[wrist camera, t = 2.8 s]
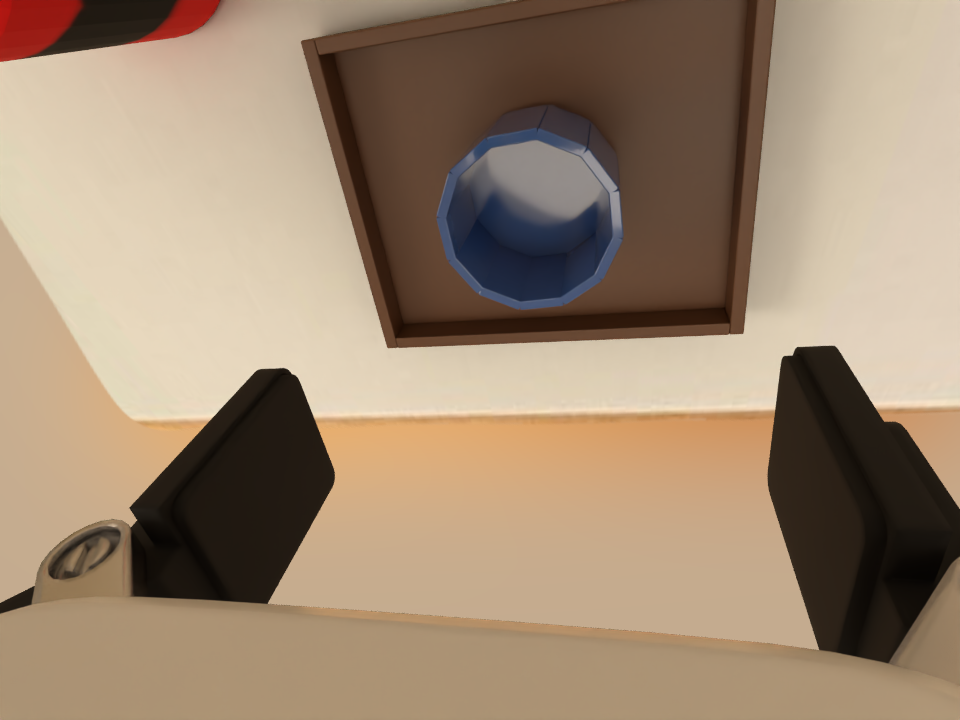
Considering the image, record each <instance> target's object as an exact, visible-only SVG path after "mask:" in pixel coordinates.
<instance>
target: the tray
mask: <svg viewBox="0 0 960 720" xmlns="http://www.w3.org/2000/svg"><path fill="white" fill-rule="evenodd" d="M775 6H776V0H518V1H513V2H507V3H502V4H496V5H491V6H486V7H480V8H475V9H469V10H464V11H458V12H453V13H447V14H442V15H437V16H431V17H426V18H420V19H415V20H409V21H404V22H398V23H393V24H387V25H382V26H377V27H371V28H366V29H360V30H355V31H349V32H344V33H338V34H333V35H328V36H322V37H317V38H312V39H308V40H303V41H301V44H302V48H303V51H304V55H305V58H306V62H307V65H308V69H309V72H310V76H311V79H312V83H313V86H314V90H315V94H316V97H317V101H318V104H319V108H320V111H321V115H322V118H323V122H324V125H325V129H326V132H327V136H328V139H329V143H330V147H331V150H332V154H333V157H334V161H335V164H336V168H337V171H338V175H339V178H340V182H341V185H342V189H343V192H344V196H345V199H346V203H347V207H348V210H349V214H350V217H351V221H352V224H353V228H354V231H355V235H356V238H357V242H358V245H359V249H360V252H361V256H362V260H363V263H364V267H365V270H366V274H367V277H368V281H369V284H370V288H371V291H372V295H373V298H374V302H375V305H376V309H377V312H378V316H379V320H380V323H381V327H382V330H383V334H384V337H385V341H386V344H387V347H388V348H397V347H398V348H407V347H432V346H457V345H481V344H506V343H531V342H556V341H581V340H605V339H630V338H655V337H680V336H705V335H728V334H729V333H730V334H743V332H744V323H745V313H746V303H747V292H748V282H749V272H750V262H751V251H752V241H753V231H754V221H755V210H756V200H757V190H758V180H759V169H760V159H761V149H762V139H763V128H764V118H765V108H766V98H767V87H768V77H769V67H770V57H771V46H772V36H773V26H774V16H775ZM545 104H548V107H549V105H553V106H556V107H558V108H561V109H564V110H566V111H569V112H571V113H574V114H576V115H579V116H582V117H584V118H587V119H589V120H590V122H593V123H594V125H595V126H596V127H597V129H598V130H599V131H600V133H601V134H602V135H603V137H604V138H605V140H606V141H607V142H608V144H609V145H610V146H611V148H612V149H613V150H614V152H615V153H616V154H617V158H618V163H619V175H620V187H621V200H622V216H623V231H624V237H623V241H622V243H621V245H620V247H619V249H618V251H617V253H616V255H615V257H614V259H613V261H612V263H611V265H610V267H609V269H608V271H607V273H606V275H605V277H604V279H602V281H601V282H599V283H598V284H596V285H595V286H593V287H592V288H590V289H589V290H587V291H586V292H584V293H583V294H581V295H580V296H578V297H577V298H575V299H574V300H572V301H571V302H569V303H568V304H566V305H565V304H564V305H563V306H555V307H545V308H536V309H526V310H521V309H520V308H519V310H518V309H515V308H513V307H510V306H507V305H505V304H502V303H499V302H497V301H494V300H491V299H489V298H486V297H484V296H481V295H479V293H476V292H475V291H474V290H473V289H472V288H471V286H470V285H469V284H468V283H467V282H466V281H465V280H464V279H463V278H462V277H461V276H460V274H459V273H458V272H457V271H456V270H455V269H454V268H453V267H452V266H451V265H450V264H449V262H448V261H449V260H447V258H446V254H445V251H444V247H443V243H442V239H441V235H440V231H439V227H438V223H437V219H436V218H437V216H436V214H437V211H438V207H439V204H440V200H441V197H442V193H443V190H444V186H445V183H446V179H447V176H448V173H449V171H450V169H451V168H452V167H453V166H454V164H455V163H456V162H457V161H458V160H459V158H460V157H461V156H462V155H463V153H464V152H465V151H466V150H467V149H468V147H469V146H470V145H471V144H472V142H473V141H474V140H475V139H476V138H477V137H478V136H480V135H481V134H482V133H483V132H484V131H485V130H486V129H487V128H488V127H489V126H490V125H491V124H493V123H494V122H495V121H496V120H497V119H498V118H499V117H500V116H501V115H502V114H505V113H506V112H509V111H515V110H520V109H525V108H530V107H535V106H540V105H545Z"/></svg>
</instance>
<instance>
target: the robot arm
mask: <svg viewBox="0 0 960 720" xmlns="http://www.w3.org/2000/svg"><path fill="white" fill-rule="evenodd" d="M334 473H335V472H334V468H333V466H332V463H331V460H330V458H329V455H328V453H327V450H326V448H325V445H324V443H323V440H322V438H321V435H320V432H319V430H318V427H317V425H316V422H315V419H314V417H313V414H312V412H311V409H310V407H309V404H308V402H307V399H306V396H305V394H304V391H303V389H302V386H301V384H300V381H299V379H298V378H297V377H296V376H295V375H292V374H291V372H290V371H289V370H288V369H285V368H278V369H260V370H257V371H256V372H255V373H254V374H253V375H252V376H251V377H250V378H249V379H248V380H247V381H246V383H245V384H244V385H243V386H242V387H241V388H240V389H239V390H238V391H237V392H236V393H235V394H234V395H233V397H232V398H231V399H230V400H229V401H228V402H227V403H226V404H225V405H224V406H223V407H222V408H221V409H220V411H219V412H218V413H217V414H216V415H215V416H214V417H213V418H212V419H211V420H210V421H209V422H208V424H207V425H206V426H205V427H204V428H203V429H202V430H201V431H200V432H199V433H198V434H197V435H196V436H195V438H194V439H193V440H192V441H191V442H190V443H189V444H188V445H187V446H186V447H185V448H184V449H183V451H182V452H181V453H180V454H179V455H178V456H177V457H176V458H175V459H174V460H173V461H172V462H171V464H170V465H169V466H168V467H167V468H166V469H165V470H164V471H163V472H162V473H161V474H160V475H159V476H158V477H157V479H156V480H155V481H154V482H153V483H152V484H151V485H150V486H149V487H148V488H147V489H146V490H145V492H144V493H143V494H142V495H141V496H140V497H139V498H138V499H137V500H136V501H135V502H134V503H133V504H132V506H131V507H130V510H131V511H132V513H133V514H134V516H135V517H136V519H137V521H136V522H135V524H134V525H133V526H132V527H131V528H130V526H129V525H128V524H127V523H125V522H124V521H122V520H115V519H111V520H105V521H100V522H97V523H94V524H91V525H88V526H86V527H84V528H82V529H80V530H78V531H76V532H74V533H73V534H71V535H70V536H68V537H67V538H66V539H64V540H63V541H61V542H60V543H59V544H58V545H57V546H56V547H55V548H53V549H52V551H50V552H49V554H48V555H47V556H46V557H45V559H44V560H43V561H42V563H41V565H40V567H39V570H38V572H37V577H36V582H35V586H33V587H32V588H29V589H28V590H25V591H23V592H21V593H19V594H17V595H15V596H13V597H11V598H10V599H7V600H5V601H4V602H1V603H0V720H960V509H959V507H958V506H957V505H956V503H955V502H954V500H953V499H952V497H951V496H950V494H949V493H948V491H947V490H946V488H945V487H944V485H943V484H942V482H941V481H940V479H939V478H938V476H937V475H936V473H935V472H934V471H933V469H932V467H931V466H930V465H929V463H928V461H927V460H926V458H925V457H924V455H923V454H922V452H921V451H920V449H919V448H918V446H917V445H916V444H915V442H914V441H913V439H912V438H911V436H910V435H909V433H908V432H907V430H906V429H905V428H904V427H903V426H902V425H901V424H899V423H897V422H884V421H883V420H882V418H881V416H880V415H879V413H878V412H877V410H876V408H875V407H874V405H873V404H872V402H871V401H870V399H869V397H868V396H867V394H866V393H865V391H864V389H863V388H862V386H861V385H860V383H859V382H858V380H857V378H856V377H855V375H854V374H853V372H852V371H851V369H850V367H849V366H848V364H847V363H846V361H845V360H844V358H843V356H842V355H841V353H840V352H839V350H838V349H837V348H836V347H835V346H814V347H797V348H796V349H795V351H794V354H793V356H784V357H783V358H782V362H781V368H780V376H779V384H778V393H777V401H776V409H775V417H774V425H773V434H772V442H771V450H770V458H769V466H768V487H769V492H770V496H771V499H772V502H773V505H774V508H775V512H776V515H777V518H778V521H779V524H780V528H781V531H782V534H783V537H784V540H785V543H786V546H787V549H788V552H789V556H790V559H791V562H792V565H793V568H794V571H795V574H796V578H797V581H798V584H799V587H800V590H801V594H802V597H803V600H804V603H805V606H806V609H807V612H808V615H809V619H810V622H811V625H812V628H813V631H814V634H815V638H816V641H817V644H818V647H819V650H814V649H807V648H799V647H792V646H784V645H777V644H770V643H759V642H747V641H738V640H727V639H717V638H706V637H695V636H685V635H674V634H663V633H652V632H640V631H627V630H614V629H601V628H587V627H576V626H563V625H550V624H537V623H525V622H512V621H499V620H486V619H471V618H459V617H444V616H432V615H418V614H404V613H390V612H376V611H362V610H348V609H334V608H320V607H305V606H290V605H274V604H268V602H269V600H270V598H271V596H272V594H273V593H274V591H275V589H276V587H277V586H278V584H279V582H280V580H281V578H282V576H283V575H284V573H285V571H286V569H287V568H288V566H289V564H290V562H291V560H292V559H293V557H294V555H295V553H296V551H297V550H298V548H299V546H300V544H301V543H302V541H303V539H304V537H305V535H306V534H307V532H308V530H309V528H310V526H311V524H312V523H313V521H314V519H315V517H316V516H317V514H318V512H319V510H320V508H321V507H322V505H323V503H324V501H325V499H326V498H327V496H328V494H329V492H330V491H331V489H332V487H333V484H334V480H335V474H334Z"/></svg>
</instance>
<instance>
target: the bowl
mask: <svg viewBox="0 0 960 720" xmlns="http://www.w3.org/2000/svg"><path fill="white" fill-rule="evenodd" d="M436 216H437V218H436V219H437V223H438V227H439V231H440V235H441V239H442V243H443V247H444V251H445V254H446V258H447V260H449V261H448V262H449V264H450V265H451V266H452V267H453V268H454V269H455V270H456V271H457V272H458V273H459V274H460V276H461V277H462V278H463V279H464V280H465V281H466V282H467V283H468V284H469V285H470V286H471V288H472V289H473V290H474V291H475V292H476V293H479V295H481V296H484V297H486V298H489V299H491V300H494V301H497V302H499V303H502V304H505V305H507V306H510V307H513V308H515V309H518V310H519V308H520V309H521V310H526V309H536V308H545V307H555V306H563V305H564V304H565V305H566V304H568V303H569V302H571V301H572V300H574V299H575V298H577V297H578V296H580V295H581V294H583V293H584V292H586V291H587V290H589V289H590V288H592V287H593V286H595V285H596V284H598V283H599V282H601V281H602V279H604V277H605V275H606V273H607V271H608V269H609V267H610V265H611V263H612V261H613V259H614V257H615V255H616V253H617V251H618V249H619V247H620V245H621V243H622V241H623V237H624V231H623V216H622V200H621V187H620V175H619V163H618V158H617V154H616V153H615V152H614V150H613V149H612V148H611V146H610V145H609V144H608V142H607V141H606V140H605V138H604V137H603V135H602V134H601V133H600V131H599V130H598V129H597V127H596V126H595V125H594V123H593V122H590V120H589V119H587V118H584V117H582V116H579V115H576V114H574V113H571V112H569V111H566V110H564V109H561V108H558V107H556V106H553V105H549V107H548V104H545V105H540V106H535V107H530V108H525V109H520V110H515V111H509V112H506V113H505V114H502V115H501V116H500V117H499V118H498V119H497V120H496V121H495V122H494V123H493V124H491V125H490V126H489V127H488V128H487V129H486V130H485V131H484V132H483V133H482V134H481V135H480V136H478V137H477V138H476V139H475V140H474V141H473V142H472V144H471V145H470V146H469V147H468V149H467V150H466V151H465V152H464V153H463V155H462V156H461V157H460V158H459V160H458V161H457V162H456V163H455V164H454V166H453V167H452V168H451V169H450V171H449V173H448V176H447V179H446V183H445V186H444V190H443V193H442V197H441V200H440V204H439V207H438V211H437V214H436Z"/></svg>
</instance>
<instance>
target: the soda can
mask: <svg viewBox="0 0 960 720" xmlns="http://www.w3.org/2000/svg"><path fill="white" fill-rule="evenodd" d="M219 2H220V0H0V62H3V61H10V60H17V59H24V58H31V57H39V56H46V55H53V54H60V53H67V52H74V51H82V50H89V49H96V48H103V47H110V46H117V45H125V44H132V43H139V42H146V41H153V40H160V39H168V38H175V37H179V36H182V35H186V34H189V33H192V32H193V31H195V30H196V29H198V28H199V27H201V26H203V25H204V24H205V22H206V21H207V20H208V19H209V18H210V17H211V16H212V15H213V13H214V12H215V10H216V8H217V6H218V4H219Z"/></svg>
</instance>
